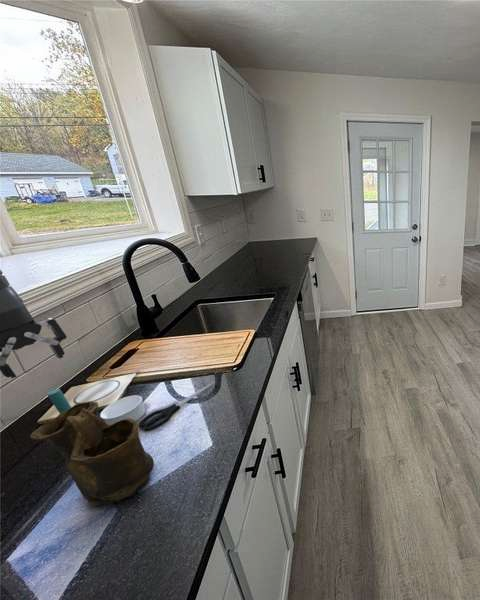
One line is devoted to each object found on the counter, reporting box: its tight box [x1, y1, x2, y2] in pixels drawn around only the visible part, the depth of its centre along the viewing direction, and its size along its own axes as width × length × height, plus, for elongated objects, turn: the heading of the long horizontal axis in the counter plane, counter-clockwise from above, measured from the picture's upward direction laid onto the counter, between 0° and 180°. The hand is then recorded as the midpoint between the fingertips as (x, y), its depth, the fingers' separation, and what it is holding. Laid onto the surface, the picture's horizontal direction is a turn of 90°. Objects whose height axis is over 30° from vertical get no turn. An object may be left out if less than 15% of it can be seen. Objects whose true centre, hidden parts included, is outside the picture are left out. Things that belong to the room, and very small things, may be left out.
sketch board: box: [36, 372, 137, 425], centre depth 95 cm, size 18×16×1 cm
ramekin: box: [99, 395, 146, 424], centre depth 85 cm, size 9×9×4 cm
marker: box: [46, 388, 72, 414], centre depth 83 cm, size 2×2×11 cm
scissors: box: [138, 381, 215, 432], centre depth 89 cm, size 7×1×20 cm
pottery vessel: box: [30, 401, 155, 507], centre depth 63 cm, size 25×11×20 cm, turn 65°
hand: (37, 366), depth 78 cm, fingers open, 8 cm apart
